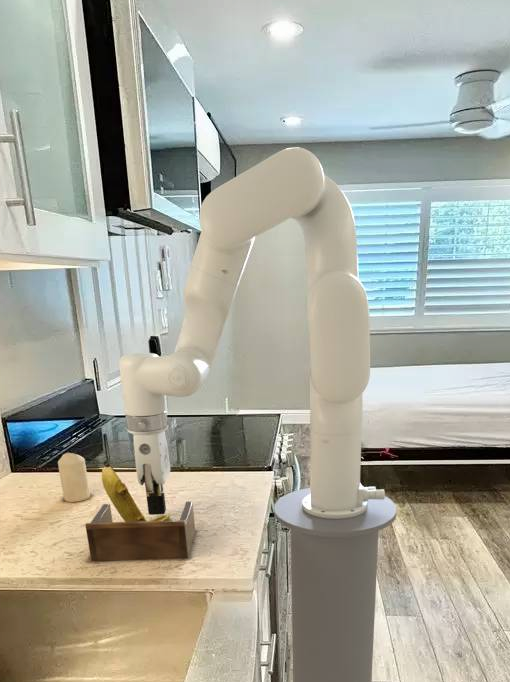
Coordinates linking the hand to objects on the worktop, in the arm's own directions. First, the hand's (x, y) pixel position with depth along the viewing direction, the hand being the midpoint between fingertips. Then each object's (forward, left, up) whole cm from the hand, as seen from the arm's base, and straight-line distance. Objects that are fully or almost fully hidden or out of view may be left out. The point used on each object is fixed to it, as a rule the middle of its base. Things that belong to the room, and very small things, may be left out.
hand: (157, 512), depth 113 cm
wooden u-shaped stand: (0, +12, -1) cm, 12 cm away
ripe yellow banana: (+1, +9, -1) cm, 10 cm away
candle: (+20, -13, -1) cm, 24 cm away
